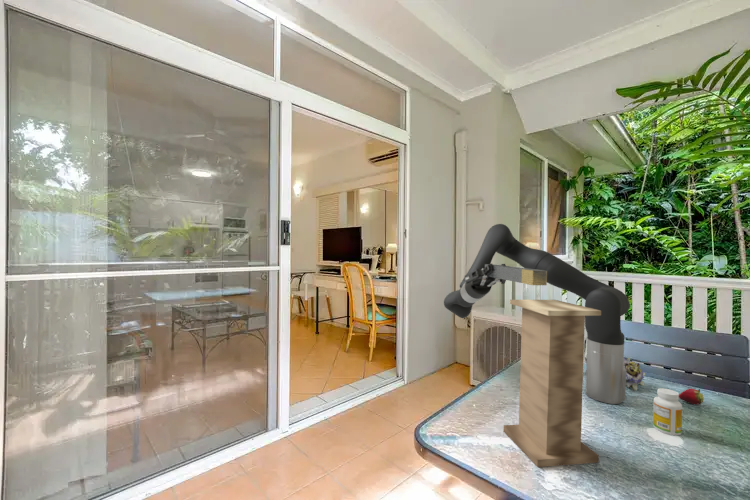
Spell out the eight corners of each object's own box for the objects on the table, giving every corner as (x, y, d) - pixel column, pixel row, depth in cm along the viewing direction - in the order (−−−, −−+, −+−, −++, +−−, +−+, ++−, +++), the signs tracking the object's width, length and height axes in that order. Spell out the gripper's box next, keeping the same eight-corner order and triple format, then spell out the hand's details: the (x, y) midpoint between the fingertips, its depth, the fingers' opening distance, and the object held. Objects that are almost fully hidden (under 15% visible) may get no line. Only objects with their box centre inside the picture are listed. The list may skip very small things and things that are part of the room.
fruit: (682, 398, 101) (683, 382, 101) (708, 407, 96) (708, 390, 96) (674, 400, 100) (674, 383, 100) (699, 409, 94) (699, 391, 94)
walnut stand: (554, 427, 82) (558, 299, 82) (600, 463, 69) (605, 310, 68) (502, 430, 80) (506, 299, 80) (539, 468, 66) (543, 310, 66)
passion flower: (633, 406, 106) (627, 381, 102) (599, 386, 116) (593, 363, 112) (655, 384, 109) (650, 359, 104) (620, 367, 119) (614, 343, 114)
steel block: (495, 275, 103) (495, 264, 103) (546, 285, 79) (547, 270, 79) (484, 275, 102) (484, 264, 102) (532, 285, 78) (532, 270, 78)
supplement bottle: (674, 426, 84) (675, 388, 84) (686, 438, 79) (687, 397, 79) (648, 422, 86) (649, 385, 86) (658, 433, 81) (660, 394, 81)
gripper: (453, 278, 113) (473, 254, 98) (491, 278, 115) (517, 255, 100) (457, 299, 109) (478, 277, 94) (496, 299, 111) (524, 278, 97)
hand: (498, 266), depth 97 cm, fingers closed on steel block, 3 cm apart
